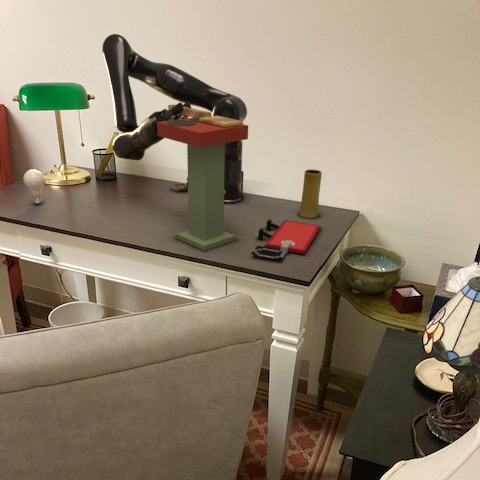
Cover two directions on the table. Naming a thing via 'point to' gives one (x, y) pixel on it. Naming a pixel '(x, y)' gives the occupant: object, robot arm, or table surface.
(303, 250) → the red board with handle
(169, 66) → the robot arm
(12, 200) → the table surface
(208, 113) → the spatula
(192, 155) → the pedestal side table
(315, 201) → the vase
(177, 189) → the compass
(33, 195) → the lightbulb
